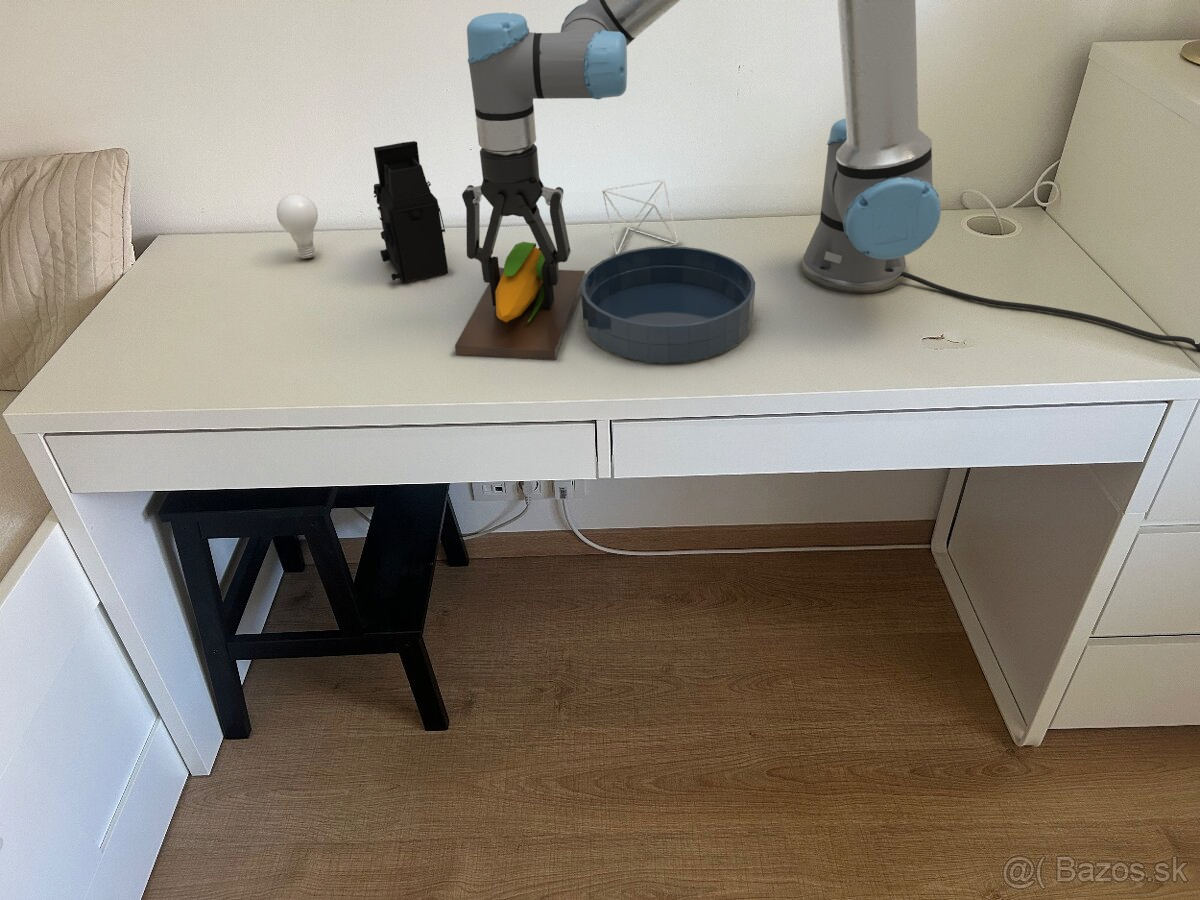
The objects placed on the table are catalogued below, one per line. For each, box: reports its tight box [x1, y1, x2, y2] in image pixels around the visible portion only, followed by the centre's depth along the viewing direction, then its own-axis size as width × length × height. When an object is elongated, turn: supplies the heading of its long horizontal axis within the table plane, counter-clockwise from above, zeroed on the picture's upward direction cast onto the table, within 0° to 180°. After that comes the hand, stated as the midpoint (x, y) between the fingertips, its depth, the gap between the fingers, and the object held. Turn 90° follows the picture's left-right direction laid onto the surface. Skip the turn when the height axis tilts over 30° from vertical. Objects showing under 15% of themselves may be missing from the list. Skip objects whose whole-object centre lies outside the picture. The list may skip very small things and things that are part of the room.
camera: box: [373, 140, 449, 284], centre depth 141 cm, size 10×14×20 cm
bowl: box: [580, 245, 756, 364], centre depth 127 cm, size 24×24×6 cm
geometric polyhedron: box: [601, 179, 679, 255], centre depth 147 cm, size 12×11×9 cm
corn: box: [495, 241, 545, 322], centre depth 129 cm, size 7×8×20 cm
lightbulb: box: [276, 193, 319, 260], centre depth 147 cm, size 6×6×11 cm
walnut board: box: [454, 267, 586, 361], centre depth 132 cm, size 14×24×2 cm, turn 171°
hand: (523, 302), depth 131 cm, fingers closed on corn, 7 cm apart
